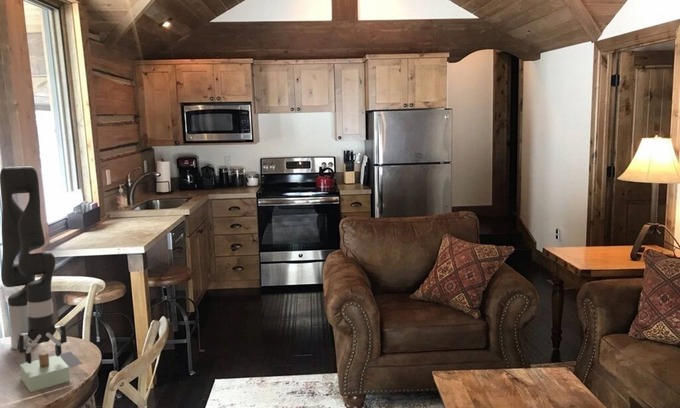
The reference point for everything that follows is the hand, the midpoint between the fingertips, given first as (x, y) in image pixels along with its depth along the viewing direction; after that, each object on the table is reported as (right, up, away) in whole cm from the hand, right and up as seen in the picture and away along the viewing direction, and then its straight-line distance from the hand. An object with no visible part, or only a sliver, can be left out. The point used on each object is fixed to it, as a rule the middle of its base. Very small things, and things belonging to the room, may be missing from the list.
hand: (43, 359), depth 182 cm
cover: (0, -7, +1) cm, 8 cm away
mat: (-3, -6, +14) cm, 16 cm away
